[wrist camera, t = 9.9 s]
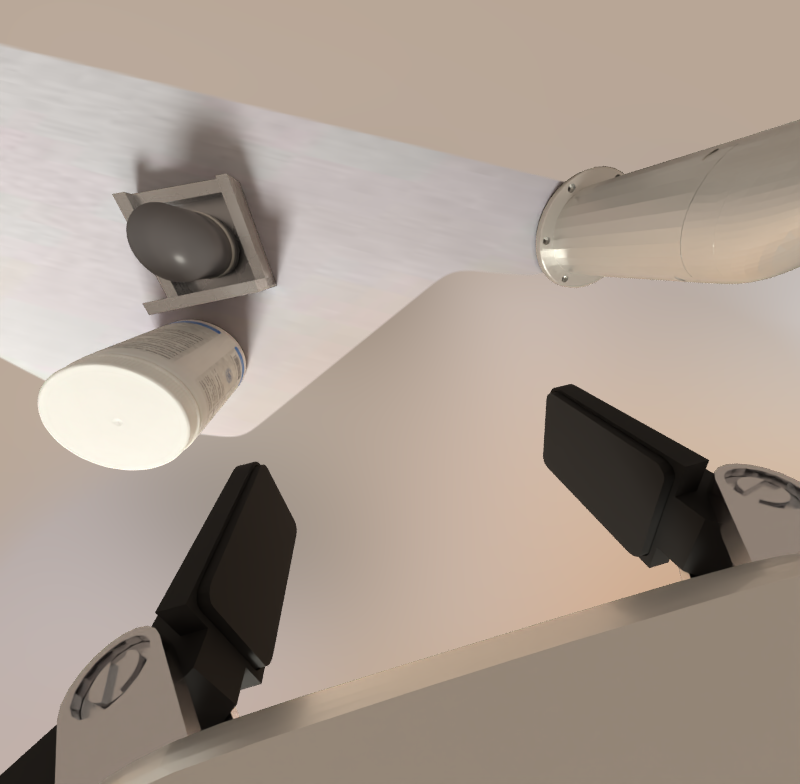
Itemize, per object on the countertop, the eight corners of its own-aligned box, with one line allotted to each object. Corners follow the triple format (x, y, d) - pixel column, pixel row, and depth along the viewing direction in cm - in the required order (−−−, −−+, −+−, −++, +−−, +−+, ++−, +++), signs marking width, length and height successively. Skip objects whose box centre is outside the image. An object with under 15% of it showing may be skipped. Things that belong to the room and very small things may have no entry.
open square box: (239, 182, 27) (207, 159, 21) (276, 285, 32) (258, 291, 25) (137, 201, 27) (73, 183, 20) (189, 304, 31) (149, 315, 25)
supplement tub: (140, 355, 32) (-3, 420, 19) (193, 299, 31) (79, 328, 18) (216, 408, 36) (141, 492, 23) (266, 361, 35) (217, 422, 22)
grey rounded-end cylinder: (225, 208, 27) (187, 194, 21) (249, 272, 30) (222, 276, 24) (163, 218, 27) (107, 207, 21) (193, 282, 30) (151, 289, 23)
